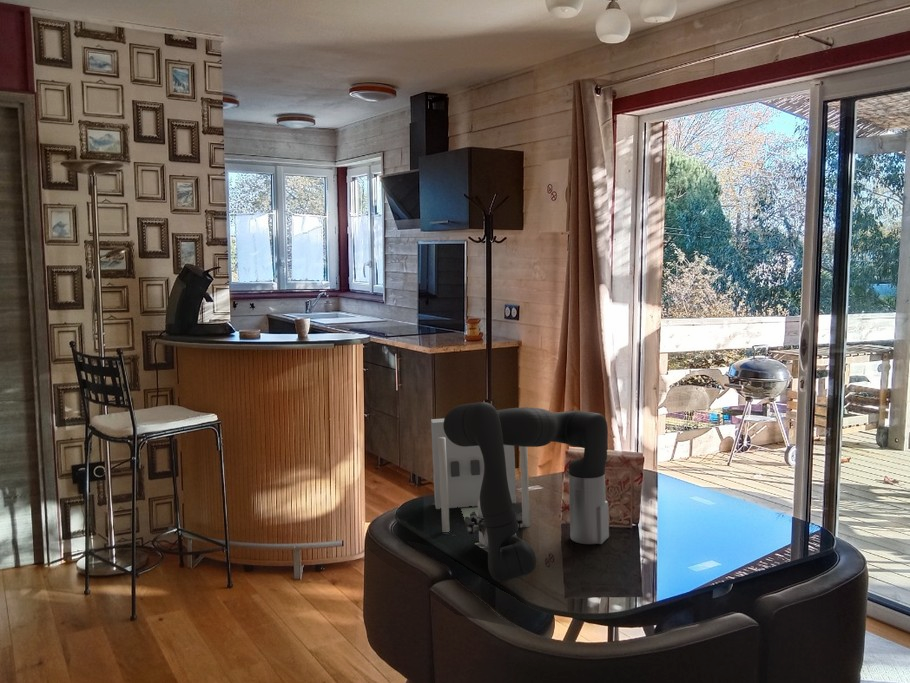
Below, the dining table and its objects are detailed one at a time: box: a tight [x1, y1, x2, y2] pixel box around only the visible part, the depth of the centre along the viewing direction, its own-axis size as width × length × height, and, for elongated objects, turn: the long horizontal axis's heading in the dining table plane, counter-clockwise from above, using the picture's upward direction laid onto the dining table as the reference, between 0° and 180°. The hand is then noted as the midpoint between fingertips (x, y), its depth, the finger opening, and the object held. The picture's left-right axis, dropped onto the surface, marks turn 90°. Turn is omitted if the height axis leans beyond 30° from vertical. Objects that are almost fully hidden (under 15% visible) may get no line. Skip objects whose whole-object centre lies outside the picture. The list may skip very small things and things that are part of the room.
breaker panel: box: [430, 417, 517, 510], centre depth 233 cm, size 7×24×26 cm, turn 96°
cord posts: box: [438, 437, 531, 533], centre depth 212 cm, size 2×24×26 cm, turn 96°
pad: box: [460, 506, 478, 521], centre depth 225 cm, size 10×10×1 cm
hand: (489, 513), depth 204 cm, fingers open, 8 cm apart
